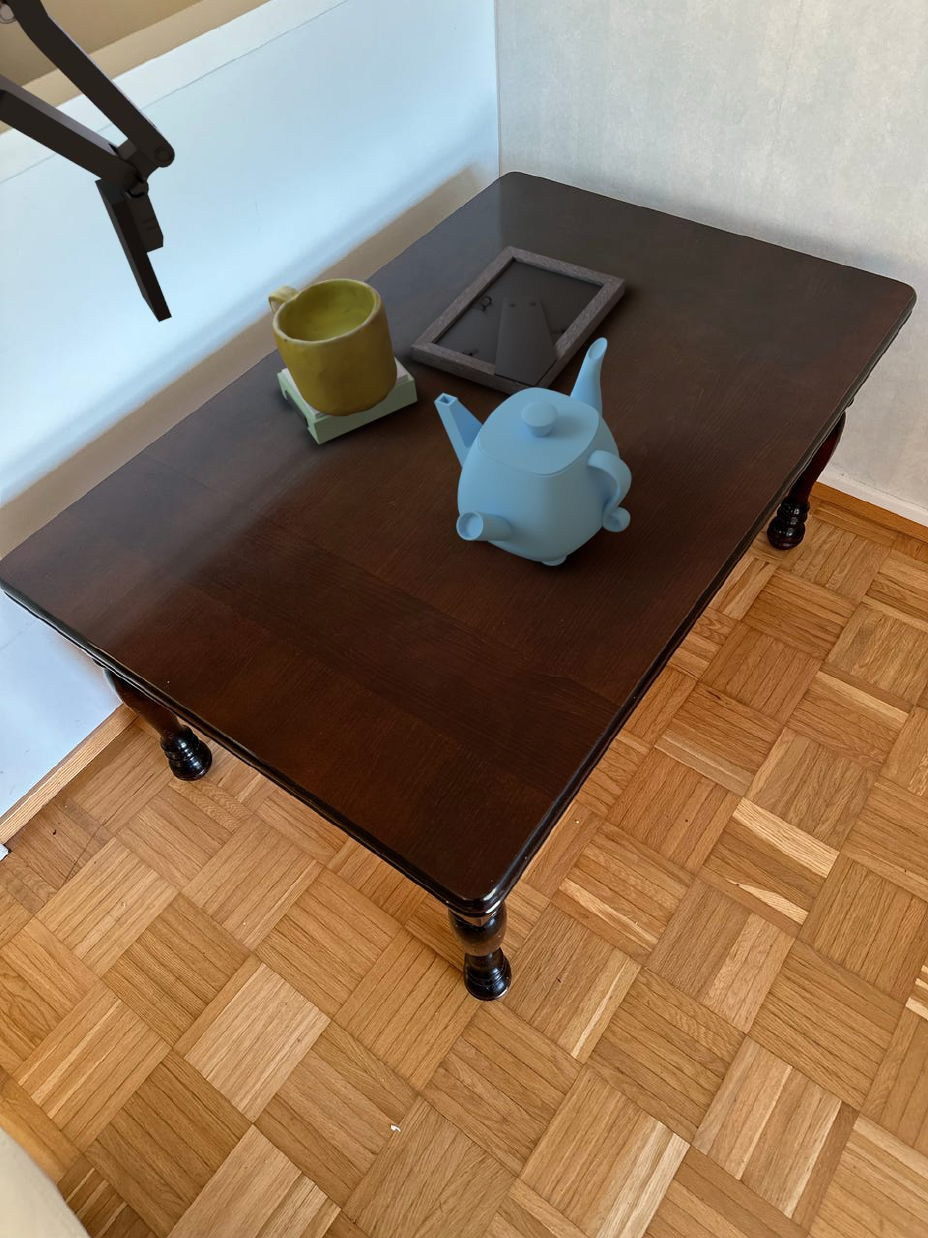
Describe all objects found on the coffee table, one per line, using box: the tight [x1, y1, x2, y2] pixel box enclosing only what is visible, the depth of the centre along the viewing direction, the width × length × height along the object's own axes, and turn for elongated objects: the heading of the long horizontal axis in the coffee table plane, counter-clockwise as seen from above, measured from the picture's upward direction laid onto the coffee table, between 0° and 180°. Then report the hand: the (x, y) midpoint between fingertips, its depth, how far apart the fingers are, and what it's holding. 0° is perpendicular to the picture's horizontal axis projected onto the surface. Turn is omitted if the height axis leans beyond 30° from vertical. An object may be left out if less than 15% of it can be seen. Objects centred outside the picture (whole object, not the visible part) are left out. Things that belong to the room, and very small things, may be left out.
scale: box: [276, 356, 418, 445], centre depth 82 cm, size 10×8×3 cm
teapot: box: [433, 337, 632, 567], centre depth 69 cm, size 15×14×11 cm
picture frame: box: [410, 245, 626, 396], centre depth 87 cm, size 13×2×18 cm
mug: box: [267, 278, 397, 416], centre depth 77 cm, size 12×10×10 cm
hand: (34, 355), depth 47 cm, fingers open, 13 cm apart
